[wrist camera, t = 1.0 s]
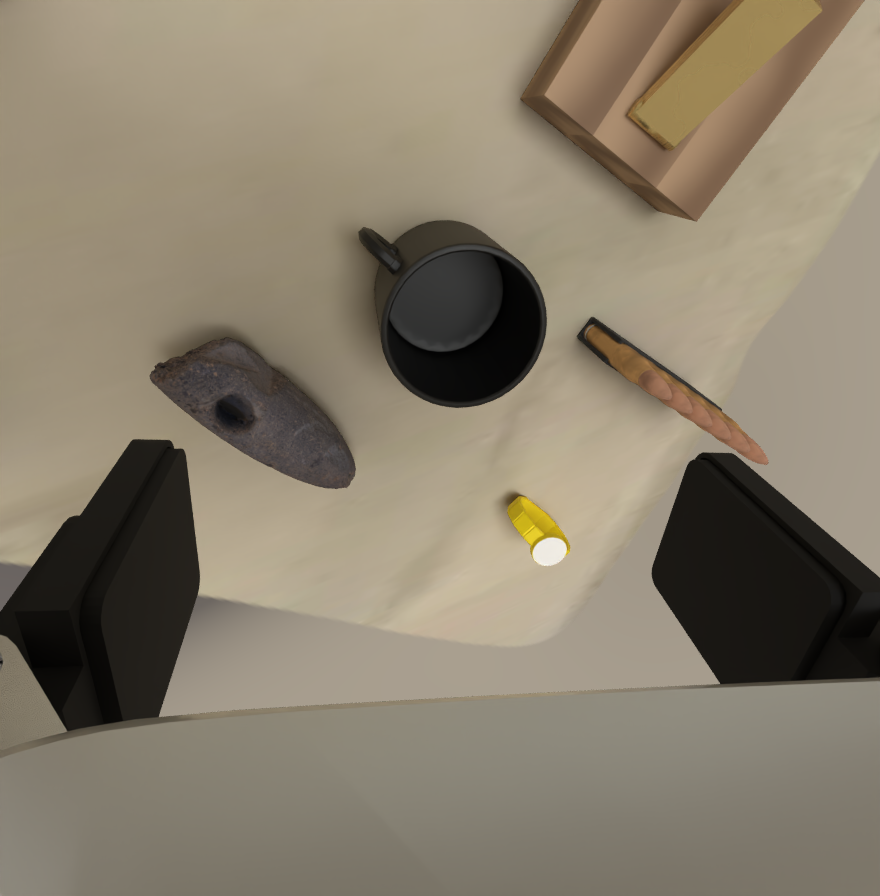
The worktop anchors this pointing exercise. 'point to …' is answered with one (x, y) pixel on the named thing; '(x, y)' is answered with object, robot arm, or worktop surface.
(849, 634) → the robot arm
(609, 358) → the ammunition clip
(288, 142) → the worktop surface
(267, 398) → the perforated stone tool
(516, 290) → the mug
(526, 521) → the yellow ring
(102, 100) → the worktop surface
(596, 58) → the walnut block
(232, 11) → the worktop surface
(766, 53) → the bar
